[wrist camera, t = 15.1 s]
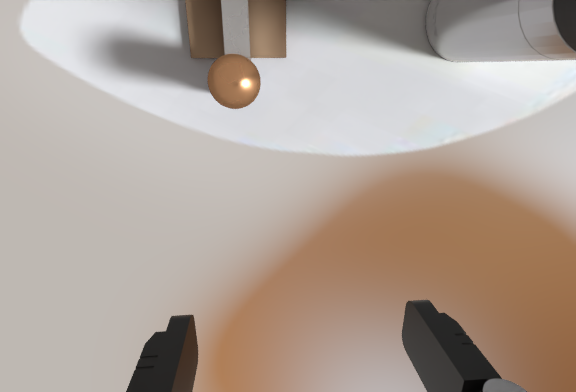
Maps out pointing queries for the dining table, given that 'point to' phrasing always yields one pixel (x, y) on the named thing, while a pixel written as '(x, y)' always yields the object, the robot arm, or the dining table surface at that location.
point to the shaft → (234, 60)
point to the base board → (262, 28)
